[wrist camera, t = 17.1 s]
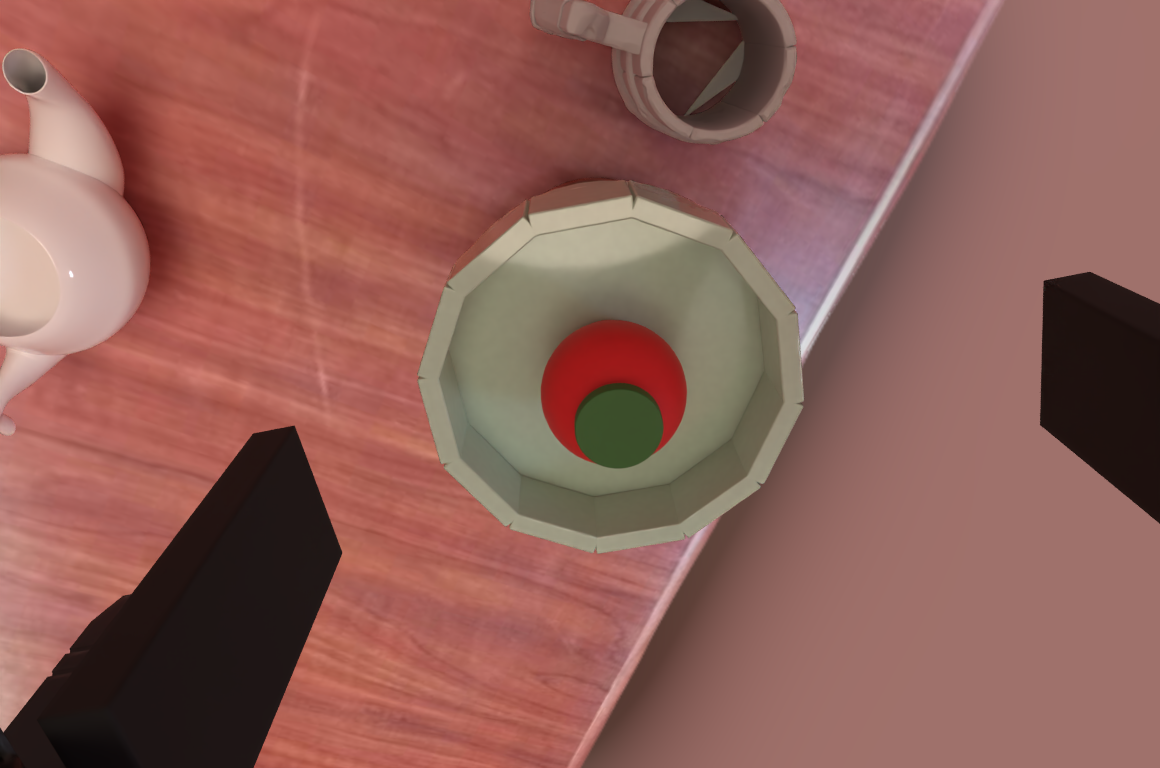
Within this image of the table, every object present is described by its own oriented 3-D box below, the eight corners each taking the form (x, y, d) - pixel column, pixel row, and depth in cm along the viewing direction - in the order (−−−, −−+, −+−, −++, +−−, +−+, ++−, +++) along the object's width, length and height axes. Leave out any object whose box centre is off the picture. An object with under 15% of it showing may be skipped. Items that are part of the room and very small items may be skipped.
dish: (703, 115, 43) (786, 166, 28) (731, 360, 49) (814, 518, 33) (442, 165, 44) (377, 242, 28) (498, 400, 50) (471, 575, 34)
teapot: (-16, 358, 48) (-141, 429, 39) (36, 5, 41) (-102, -1, 32) (152, 414, 49) (68, 495, 41) (231, 84, 42) (149, 99, 34)
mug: (731, 149, 44) (788, 190, 33) (514, 87, 43) (499, 108, 32) (782, -3, 41) (864, -15, 30) (552, -76, 40) (549, -115, 29)
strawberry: (665, 285, 32) (688, 342, 27) (682, 408, 35) (708, 485, 29) (530, 310, 33) (523, 371, 27) (555, 430, 35) (555, 510, 29)
